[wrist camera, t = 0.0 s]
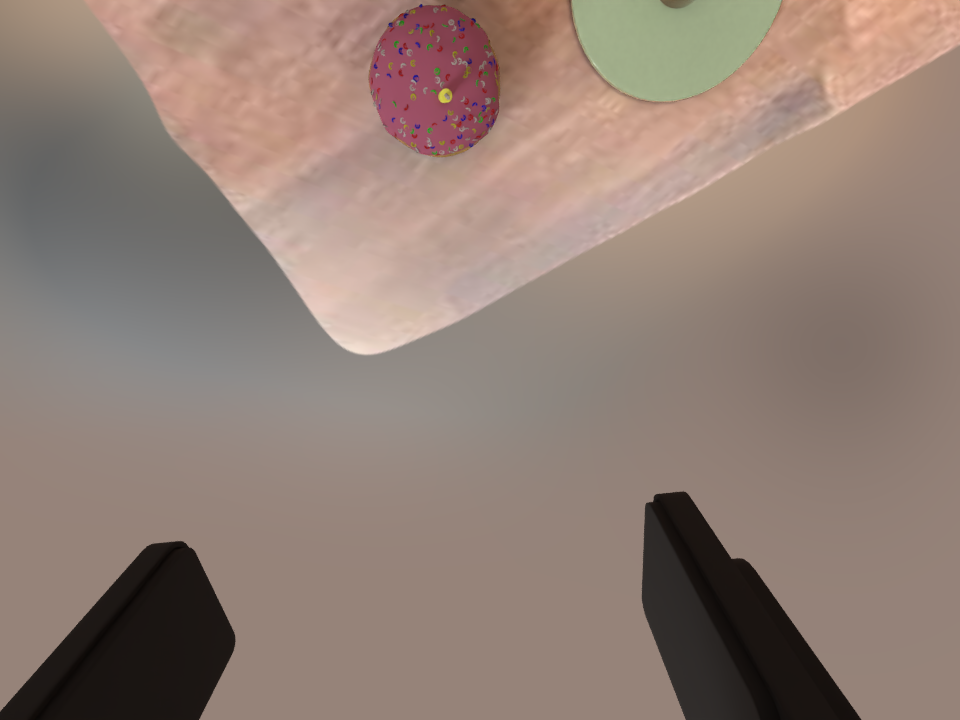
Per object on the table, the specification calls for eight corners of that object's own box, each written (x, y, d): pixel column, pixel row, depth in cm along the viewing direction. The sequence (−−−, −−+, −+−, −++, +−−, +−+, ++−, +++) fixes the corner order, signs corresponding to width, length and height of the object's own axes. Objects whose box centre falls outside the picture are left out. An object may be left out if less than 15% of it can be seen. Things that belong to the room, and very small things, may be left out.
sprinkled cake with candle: (519, 112, 33) (542, 81, 22) (431, 183, 35) (411, 187, 24) (450, -2, 31) (436, -102, 20) (359, 82, 33) (299, 34, 21)
